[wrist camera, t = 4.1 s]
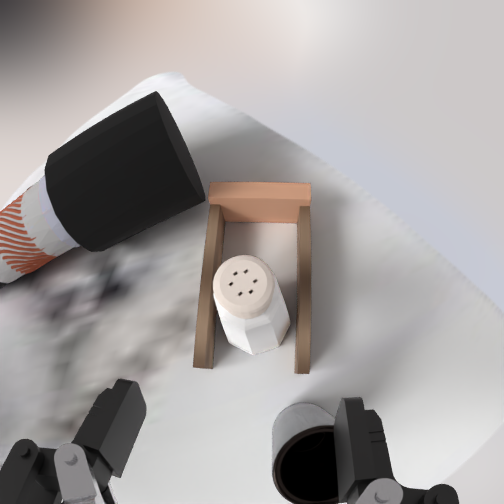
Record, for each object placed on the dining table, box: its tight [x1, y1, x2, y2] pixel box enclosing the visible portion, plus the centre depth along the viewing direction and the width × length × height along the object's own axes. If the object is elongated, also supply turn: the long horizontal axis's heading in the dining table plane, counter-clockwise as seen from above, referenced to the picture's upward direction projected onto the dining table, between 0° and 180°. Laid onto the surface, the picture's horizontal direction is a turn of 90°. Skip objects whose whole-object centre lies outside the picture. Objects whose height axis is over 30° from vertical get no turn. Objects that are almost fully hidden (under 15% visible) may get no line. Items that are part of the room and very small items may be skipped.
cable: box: [0, 91, 205, 288], centre depth 24 cm, size 10×34×10 cm, turn 109°
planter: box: [272, 403, 339, 504], centre depth 16 cm, size 4×4×10 cm
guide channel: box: [193, 182, 311, 374], centre depth 23 cm, size 14×8×4 cm, turn 177°
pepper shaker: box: [213, 255, 291, 355], centre depth 19 cm, size 5×5×11 cm
